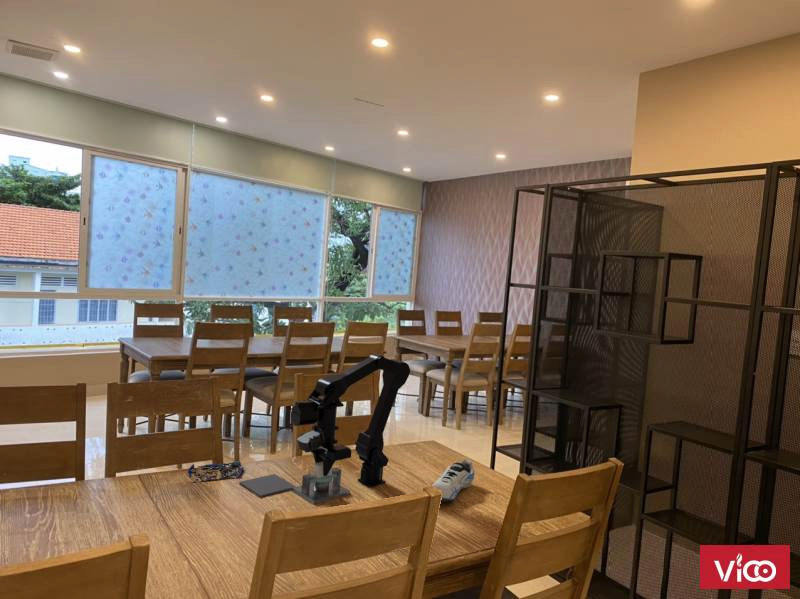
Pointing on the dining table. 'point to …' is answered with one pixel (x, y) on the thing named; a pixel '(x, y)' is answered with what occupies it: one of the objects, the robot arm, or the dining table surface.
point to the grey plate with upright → (321, 488)
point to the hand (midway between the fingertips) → (322, 474)
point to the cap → (321, 474)
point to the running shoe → (455, 479)
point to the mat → (267, 485)
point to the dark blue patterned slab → (220, 466)
